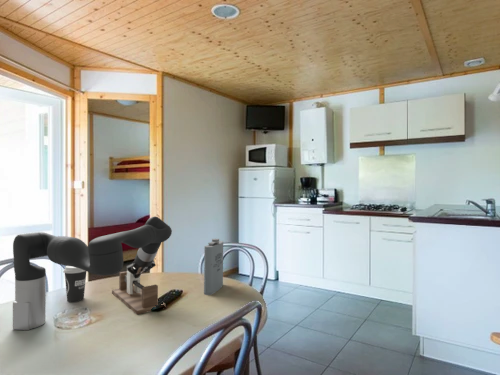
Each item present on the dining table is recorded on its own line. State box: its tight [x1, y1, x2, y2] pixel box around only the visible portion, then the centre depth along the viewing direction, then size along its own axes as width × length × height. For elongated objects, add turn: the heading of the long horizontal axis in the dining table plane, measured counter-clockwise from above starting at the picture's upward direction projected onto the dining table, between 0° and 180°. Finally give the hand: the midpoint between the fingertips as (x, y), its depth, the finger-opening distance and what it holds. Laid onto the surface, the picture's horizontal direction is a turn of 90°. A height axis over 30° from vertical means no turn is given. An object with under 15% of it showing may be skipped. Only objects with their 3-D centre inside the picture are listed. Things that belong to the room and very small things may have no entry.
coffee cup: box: [63, 265, 88, 303], centre depth 144 cm, size 10×10×15 cm
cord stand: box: [111, 270, 166, 315], centre depth 144 cm, size 32×12×10 cm, turn 39°
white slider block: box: [126, 267, 141, 294], centre depth 148 cm, size 4×5×11 cm
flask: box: [203, 238, 224, 296], centre depth 160 cm, size 17×5×25 cm, turn 164°
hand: (136, 276), depth 146 cm, fingers closed
